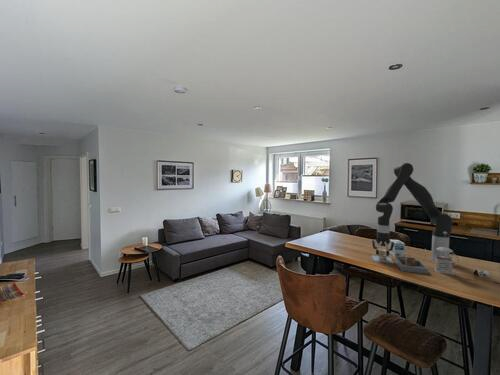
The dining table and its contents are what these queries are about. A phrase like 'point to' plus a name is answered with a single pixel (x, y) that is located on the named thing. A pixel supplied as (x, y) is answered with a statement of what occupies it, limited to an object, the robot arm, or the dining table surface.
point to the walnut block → (409, 261)
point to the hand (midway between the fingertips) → (382, 255)
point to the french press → (440, 260)
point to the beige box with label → (382, 254)
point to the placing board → (388, 259)
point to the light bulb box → (398, 248)
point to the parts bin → (418, 266)
